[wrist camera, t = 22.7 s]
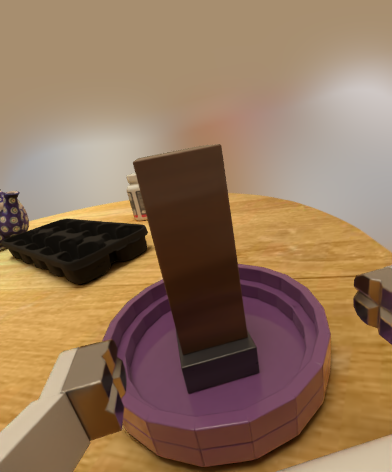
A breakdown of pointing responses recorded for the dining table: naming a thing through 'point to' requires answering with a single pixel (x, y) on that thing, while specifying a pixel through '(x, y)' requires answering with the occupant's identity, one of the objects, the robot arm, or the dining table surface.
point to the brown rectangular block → (198, 263)
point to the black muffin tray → (78, 247)
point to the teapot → (11, 216)
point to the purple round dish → (230, 393)
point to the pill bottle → (136, 198)
